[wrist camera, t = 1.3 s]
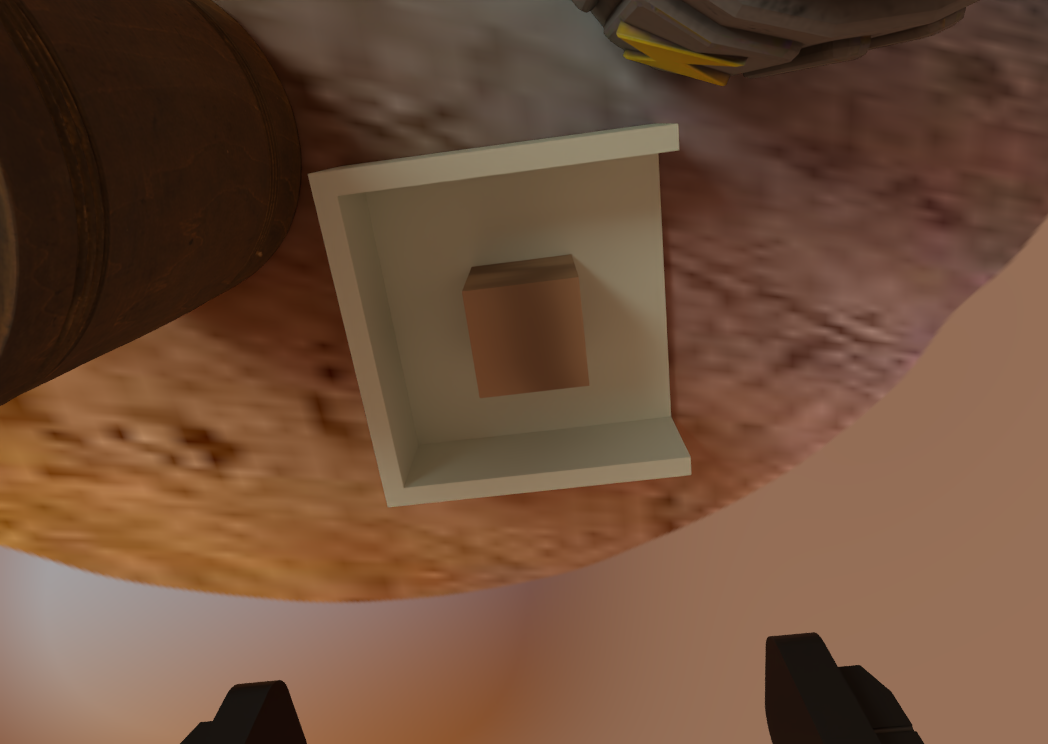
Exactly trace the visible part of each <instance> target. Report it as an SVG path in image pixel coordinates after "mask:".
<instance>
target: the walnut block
mask: <svg viewBox="0 0 1048 744" xmlns="http://www.w3.org/2000/svg"><path fill="white" fill-rule="evenodd" d="M462 296H463V302H464V308H465V314H466V320H467V326H468V332H469V338H470V344H471V350H472V356H473V362H474V368H475V373H476V379H477V385H478V391H479V397H480V398H487V397H496V396H504V395H513V394H522V393H531V392H539V391H548V390H557V389H565V388H574V387H583V386H589V376H588V366H587V356H586V345H585V335H584V325H583V315H582V305H581V294H580V284H579V276H578V273H577V270H576V267H575V264H574V261H573V258H572V255H571V254H569V255H561V256H553V257H545V258H537V259H530V260H522V261H514V262H506V263H498V264H490V265H482V266H474V267H471V270H470V272H469V275H468V277H467V280H466V282H465V285H464V287H463V290H462Z"/></svg>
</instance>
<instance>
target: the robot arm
mask: <svg viewBox="0 0 1048 744" xmlns="http://www.w3.org/2000/svg"><path fill="white" fill-rule="evenodd" d="M765 665H766V666H765V711H766V717H767V724H768V728H769V732H770V736H771V740H772V743H773V744H924V743H923V741H922V739H921V738H920V736H919V735H918V733H917V732H916V731H915V732H914V730H913V727H912V724H911V722H910V721H909V719H908V717H907V716H906V714H905V713H904V711H903V710H902V708H901V706H900V705H899V703H898V702H897V700H896V699H895V697H894V695H893V694H892V692H891V691H890V690H889V689H887V688H886V687H885V686H884V685H882V684H881V683H880V682H879V681H878V680H877V679H876V678H874V677H873V676H872V675H871V674H870V673H869V672H867V671H866V670H865V669H864V668H863V667H861V666H860V665H855V666H844V667H837V665H836V663H835V661H834V659H833V658H832V656H831V654H830V652H829V651H828V649H827V647H826V645H825V643H824V642H823V640H822V639H821V637H820V636H819V635H818V634H817V633H814V632H813V633H803V634H792V635H782V636H770V637H768V638H767V640H766V664H765ZM180 744H307V743H306V739H305V736H304V733H303V731H302V728H301V725H300V722H299V719H298V716H297V713H296V711H295V708H294V705H293V702H292V699H291V696H290V693H289V690H288V688H287V686H286V684H285V683H284V682H283V681H281V680H278V681H267V682H256V683H245V684H237V685H234V687H232V688H231V689H230V690H229V692H228V693H227V695H226V697H225V699H224V701H223V703H222V705H221V706H220V708H219V711H218V712H217V714H216V716H215V718H214V720H213V721H209V722H200V723H199V724H198V725H197V726H196V728H195V729H194V730H193V731H192V732H191V733H190V734H189V735H188V736H187V737H186V738H185V739H184V740H183V741H182V742H181V743H180Z"/></svg>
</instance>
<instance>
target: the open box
mask: <svg viewBox="0 0 1048 744" xmlns="http://www.w3.org/2000/svg"><path fill="white" fill-rule="evenodd" d="M678 150H679V131H678V124H662V123H654V124H647V125H640V126H632V127H625V128H618V129H610V130H603V131H596V132H588V133H581V134H573V135H566V136H559V137H551V138H544V139H537V140H529V141H522V142H515V143H507V144H500V145H493V146H485V147H478V148H471V149H463V150H456V151H448V152H441V153H434V154H426V155H419V156H412V157H404V158H397V159H390V160H382V161H375V162H368V163H360V164H353V165H346V166H339V167H335V168H331V169H327V170H322V171H318V172H314V173H310V174H308V178H309V182H310V186H311V190H312V195H313V199H314V203H315V207H316V211H317V215H318V220H319V224H320V228H321V232H322V236H323V240H324V244H325V249H326V253H327V257H328V261H329V265H330V269H331V273H332V278H333V282H334V286H335V290H336V294H337V298H338V303H339V307H340V311H341V315H342V319H343V323H344V327H345V332H346V336H347V340H348V344H349V348H350V352H351V356H352V361H353V365H354V369H355V373H356V377H357V381H358V386H359V390H360V394H361V398H362V402H363V406H364V410H365V415H366V419H367V423H368V427H369V431H370V435H371V439H372V444H373V448H374V452H375V456H376V460H377V464H378V469H379V473H380V477H381V481H382V485H383V489H384V493H385V498H386V502H387V506H388V507H397V506H406V505H415V504H425V503H434V502H444V501H453V500H462V499H472V498H481V497H490V496H500V495H509V494H519V493H528V492H537V491H547V490H556V489H565V488H575V487H584V486H593V485H603V484H612V483H622V482H631V481H640V480H650V479H659V478H668V477H678V476H687V475H691V457H690V455H689V452H688V450H687V448H686V446H685V444H684V442H683V440H682V438H681V436H680V434H679V432H678V430H677V428H676V426H675V424H674V421H673V419H672V417H671V403H670V383H669V362H668V341H667V321H666V300H665V280H664V259H663V239H662V218H661V198H660V177H659V157H658V153H663V152H670V151H678ZM569 254H571V255H572V258H573V261H574V264H575V267H576V270H577V273H578V276H579V284H580V294H581V305H582V315H583V325H584V335H585V345H586V356H587V366H588V376H589V386H583V387H574V388H565V389H557V390H548V391H539V392H531V393H522V394H513V395H504V396H496V397H487V398H480V397H479V391H478V385H477V379H476V373H475V368H474V362H473V356H472V350H471V344H470V338H469V332H468V326H467V320H466V314H465V308H464V302H463V296H462V290H463V287H464V285H465V282H466V280H467V277H468V275H469V272H470V270H471V267H474V266H482V265H490V264H498V263H506V262H514V261H522V260H530V259H537V258H545V257H553V256H561V255H569Z"/></svg>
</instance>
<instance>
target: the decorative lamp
mask: <svg viewBox="0 0 1048 744" xmlns="http://www.w3.org/2000/svg"><path fill="white" fill-rule="evenodd" d="M572 1H573V3H574V4H575V5H576V6H577V7H578V9H580V10H582V11H584V12H586V13H587V12H589V11H591V12H592V14H593V15H594V16H595V17H596V18H597V20H598V21H599V22H600V23H601V25H602V26H604V34H605V36H606V37H607V38H608V39H609V40H610V41H611V42H613V43H614V44H616V45H617V46H619V47H620V48H622V49H624V50H625V52H624V54H623V56H624V57H625V58H626V59H629V60H632V61H636V62H639V63H643V64H646V65H649V66H651V67H653V68H654V69H657V70H661V71H666V72H671V73H676V74H681V75H685V76H688V77H692V78H695V79H699V80H702V81H706V82H709V83H713V84H716V85H720V86H724V85H726V84H727V82H728V79H729V77H730V76H732V75H736V74H741V73H743V75H744V77H747V78H750V79H751V78H758V77H765V76H771V75H776V74H781V73H787V72H792V71H797V70H802V69H807V68H813V67H818V66H823V65H828V64H834V63H839V62H844V61H849V60H854V59H857V58H859V57H861V56H863V55H864V54H866V52H867V50H870V49H874V48H879V47H884V46H889V45H893V44H898V43H903V42H907V41H912V40H917V39H921V38H925V37H928V36H932V35H934V34H937V33H939V32H941V31H943V30H945V29H947V28H949V27H951V26H953V25H955V24H956V23H957V22H958V21H960V20H961V19H962V18H963V17H964V13H965V9H966V6H968V5H971V4H973V3H975V2H977V1H979V0H572Z"/></svg>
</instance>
